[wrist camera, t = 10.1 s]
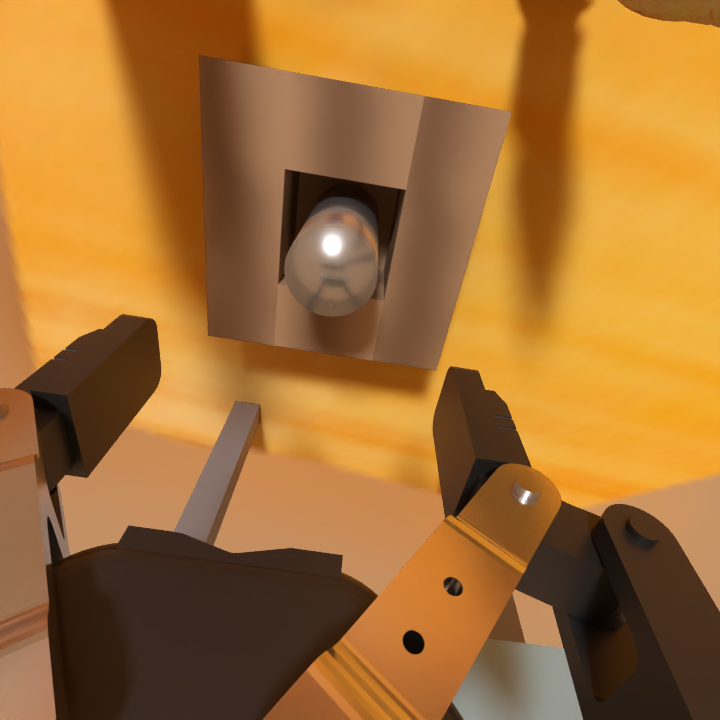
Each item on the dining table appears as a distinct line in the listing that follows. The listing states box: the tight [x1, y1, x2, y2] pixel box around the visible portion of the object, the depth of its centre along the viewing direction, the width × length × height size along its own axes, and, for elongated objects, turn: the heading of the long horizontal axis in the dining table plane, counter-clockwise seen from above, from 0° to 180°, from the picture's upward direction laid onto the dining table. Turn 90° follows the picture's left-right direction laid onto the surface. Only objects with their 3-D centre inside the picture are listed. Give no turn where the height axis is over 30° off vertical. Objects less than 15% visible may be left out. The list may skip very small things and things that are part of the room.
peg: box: [284, 184, 379, 317], centre depth 23 cm, size 4×4×10 cm
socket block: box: [199, 55, 512, 370], centre depth 25 cm, size 14×14×6 cm
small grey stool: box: [174, 401, 583, 720], centre depth 24 cm, size 21×11×26 cm, turn 81°
